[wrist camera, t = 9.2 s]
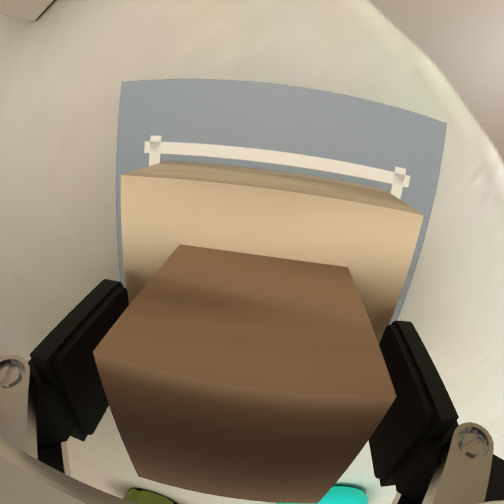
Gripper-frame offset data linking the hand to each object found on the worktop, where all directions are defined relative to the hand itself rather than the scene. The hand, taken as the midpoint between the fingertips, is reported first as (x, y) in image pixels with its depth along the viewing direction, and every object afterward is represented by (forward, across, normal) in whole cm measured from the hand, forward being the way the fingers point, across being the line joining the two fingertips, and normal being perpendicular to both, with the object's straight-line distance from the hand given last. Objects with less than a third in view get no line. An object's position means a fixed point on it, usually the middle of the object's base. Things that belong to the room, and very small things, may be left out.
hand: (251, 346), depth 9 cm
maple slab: (+5, 0, 0) cm, 5 cm away
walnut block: (+1, 0, 0) cm, 1 cm away
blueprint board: (+6, 0, 0) cm, 6 cm away
